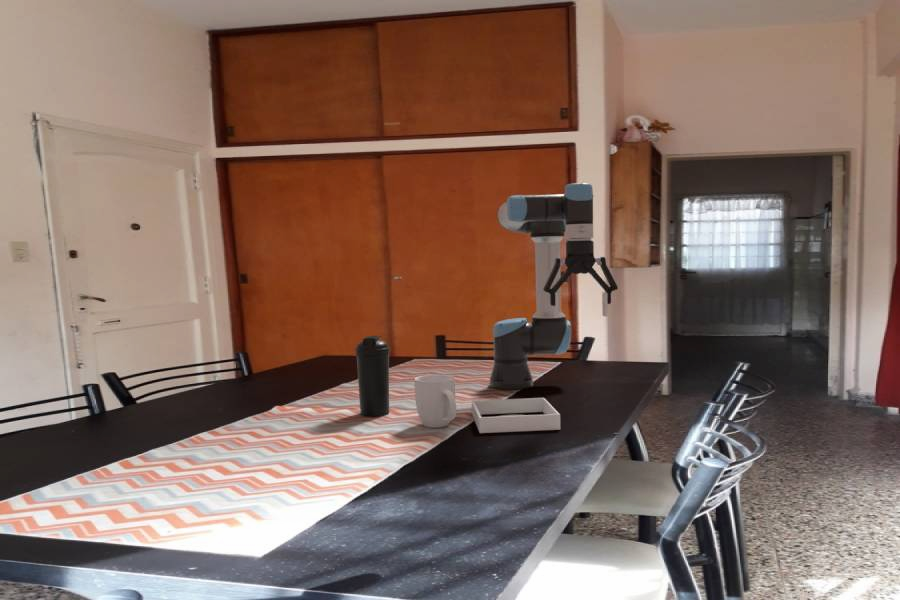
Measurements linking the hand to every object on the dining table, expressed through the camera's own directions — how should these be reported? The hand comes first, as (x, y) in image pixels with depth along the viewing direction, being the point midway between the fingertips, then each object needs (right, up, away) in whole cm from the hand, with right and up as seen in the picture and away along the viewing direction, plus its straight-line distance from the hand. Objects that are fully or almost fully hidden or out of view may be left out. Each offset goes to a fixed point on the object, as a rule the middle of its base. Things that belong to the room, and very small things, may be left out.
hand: (580, 316), depth 191 cm
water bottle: (-59, -29, +13) cm, 67 cm away
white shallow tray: (-19, -29, -2) cm, 34 cm away
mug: (-40, -30, -4) cm, 50 cm away
